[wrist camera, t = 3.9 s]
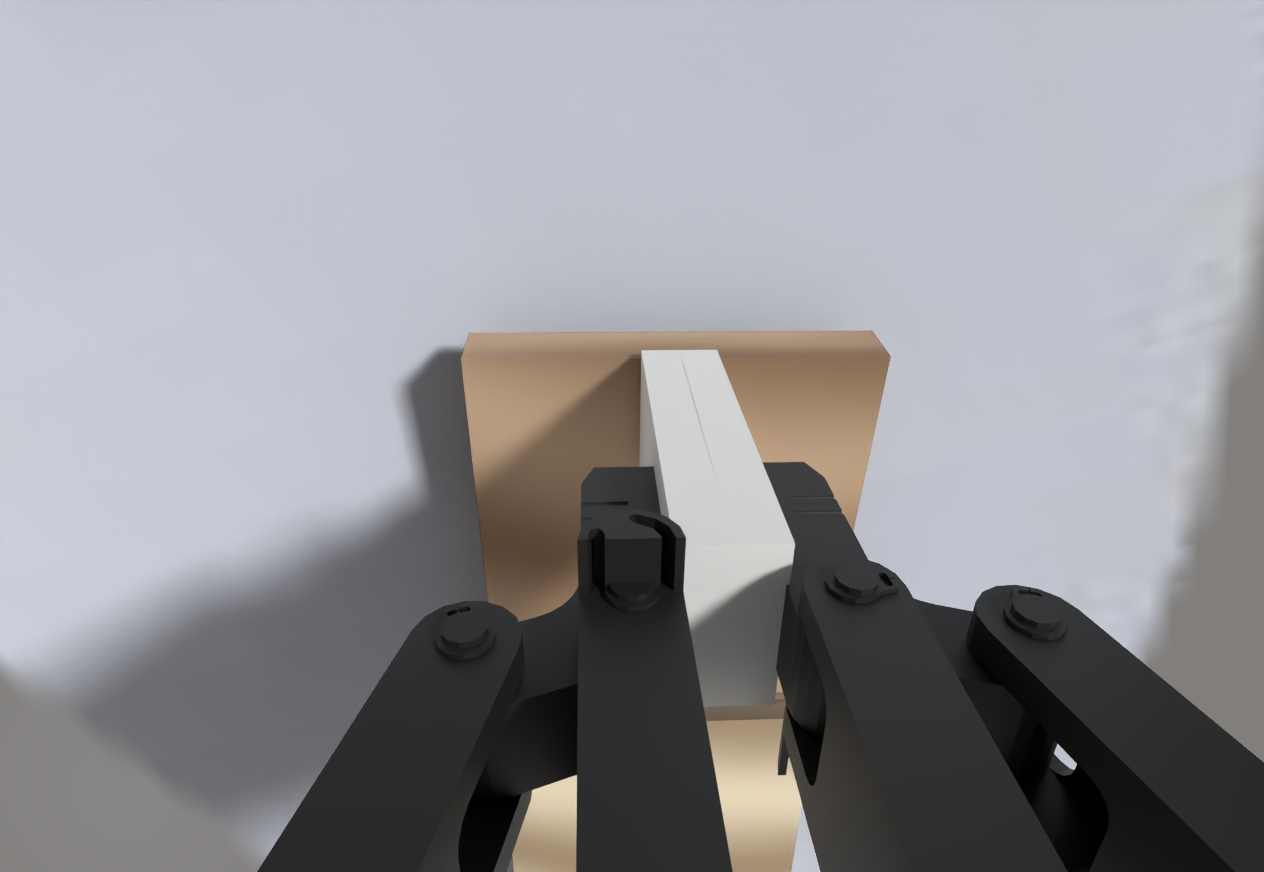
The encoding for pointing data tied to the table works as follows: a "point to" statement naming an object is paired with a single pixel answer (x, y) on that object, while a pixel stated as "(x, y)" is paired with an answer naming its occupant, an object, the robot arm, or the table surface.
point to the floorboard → (748, 791)
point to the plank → (610, 430)
